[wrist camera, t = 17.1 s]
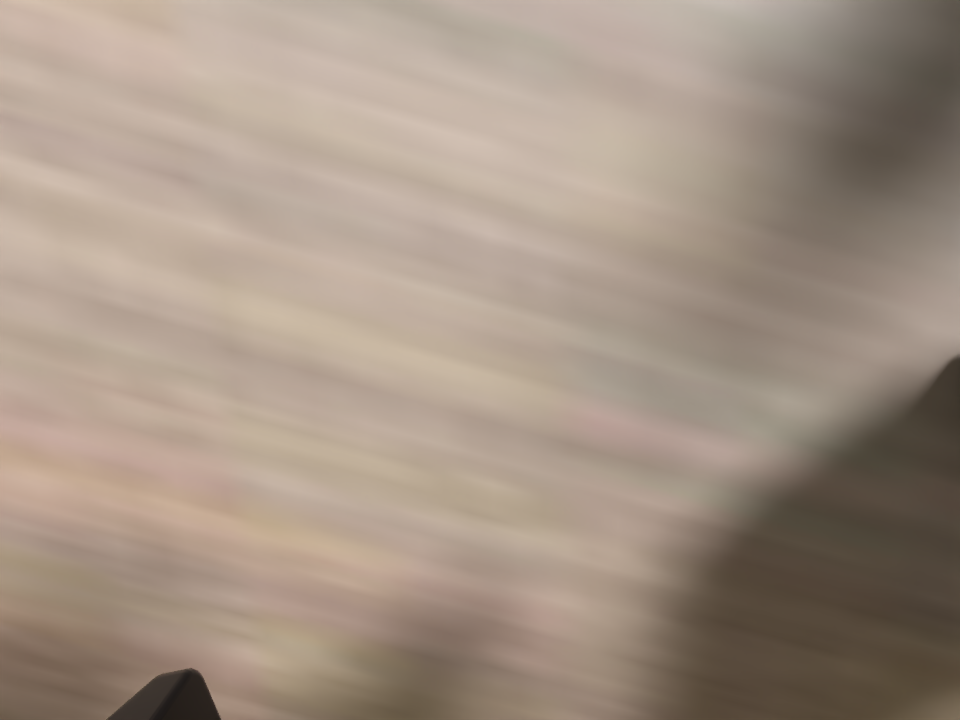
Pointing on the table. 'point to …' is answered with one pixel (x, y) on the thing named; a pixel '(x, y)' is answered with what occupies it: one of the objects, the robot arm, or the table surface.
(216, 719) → the robot arm
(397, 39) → the table surface
